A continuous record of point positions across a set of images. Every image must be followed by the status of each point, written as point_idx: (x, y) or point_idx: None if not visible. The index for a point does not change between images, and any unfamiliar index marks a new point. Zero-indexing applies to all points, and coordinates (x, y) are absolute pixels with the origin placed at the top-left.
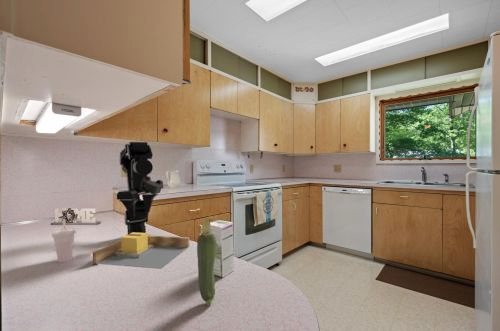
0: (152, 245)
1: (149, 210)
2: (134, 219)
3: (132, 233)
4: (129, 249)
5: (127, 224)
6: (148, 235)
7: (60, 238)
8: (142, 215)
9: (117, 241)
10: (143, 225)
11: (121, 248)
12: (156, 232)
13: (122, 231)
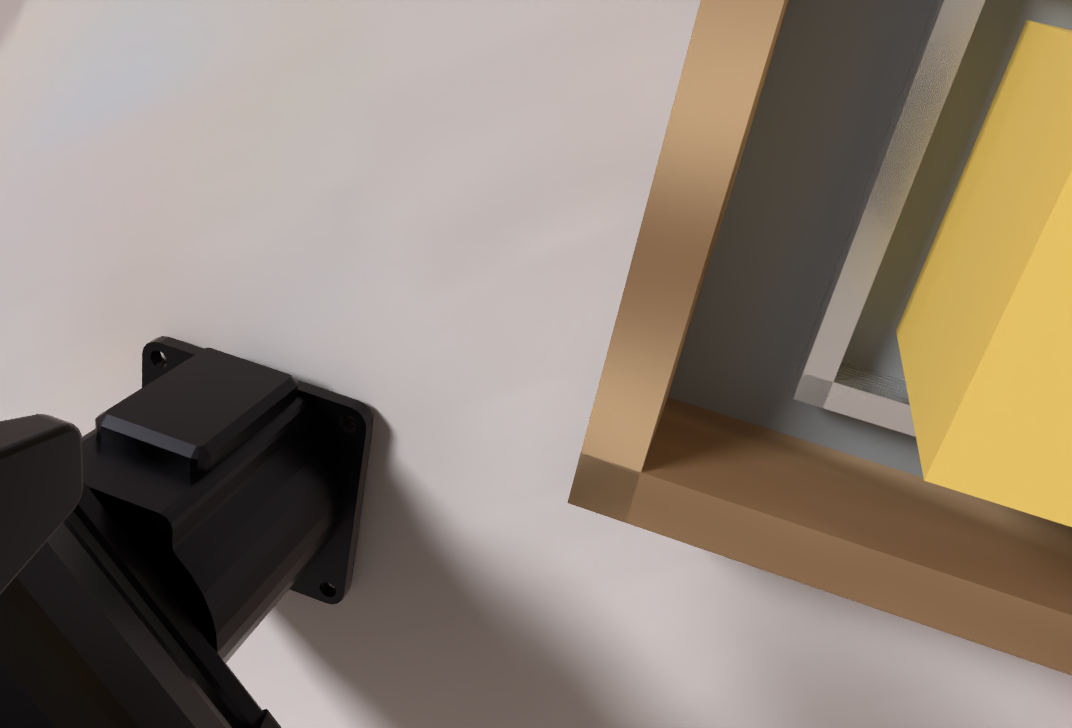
0: None
1: (15, 430)
2: (184, 671)
3: (1049, 459)
4: None
5: (261, 715)
6: (666, 154)
7: None
8: (42, 572)
9: (989, 644)
10: (113, 451)
11: (968, 508)
12: (19, 230)
13: None
